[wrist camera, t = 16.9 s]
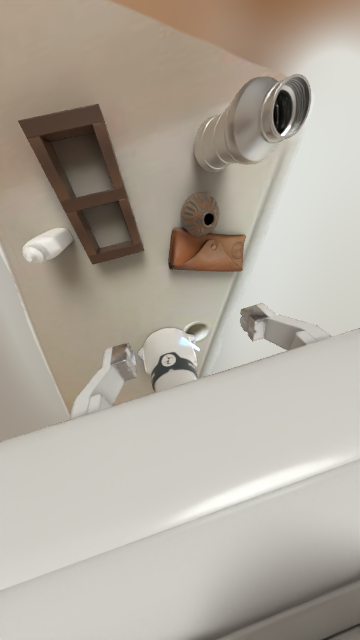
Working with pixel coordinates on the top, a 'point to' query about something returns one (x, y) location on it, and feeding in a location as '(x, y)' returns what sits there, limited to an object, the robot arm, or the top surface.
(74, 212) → the stand
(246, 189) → the top surface
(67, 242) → the eye dropper bottle
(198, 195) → the vase
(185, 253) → the sunglasses case
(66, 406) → the top surface
